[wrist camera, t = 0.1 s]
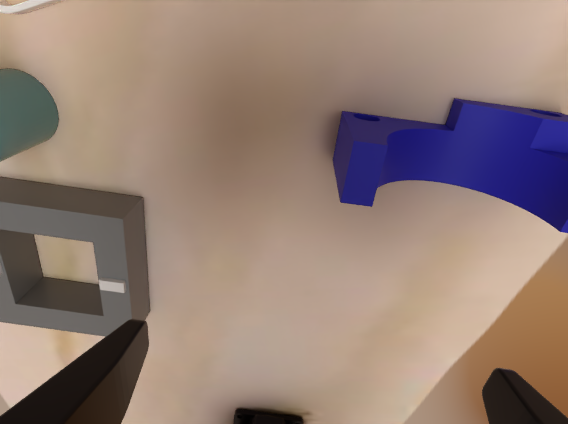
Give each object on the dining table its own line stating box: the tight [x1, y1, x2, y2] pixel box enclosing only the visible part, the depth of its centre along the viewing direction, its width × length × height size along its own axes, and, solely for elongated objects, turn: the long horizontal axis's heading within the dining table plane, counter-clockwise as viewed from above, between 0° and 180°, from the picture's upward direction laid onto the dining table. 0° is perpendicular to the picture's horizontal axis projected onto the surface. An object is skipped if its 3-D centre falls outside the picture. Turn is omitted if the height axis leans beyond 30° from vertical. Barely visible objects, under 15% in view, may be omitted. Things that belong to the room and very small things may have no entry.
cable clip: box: [333, 98, 568, 233], centre depth 19 cm, size 12×4×6 cm, turn 83°
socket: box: [0, 177, 150, 336], centre depth 25 cm, size 10×10×3 cm
